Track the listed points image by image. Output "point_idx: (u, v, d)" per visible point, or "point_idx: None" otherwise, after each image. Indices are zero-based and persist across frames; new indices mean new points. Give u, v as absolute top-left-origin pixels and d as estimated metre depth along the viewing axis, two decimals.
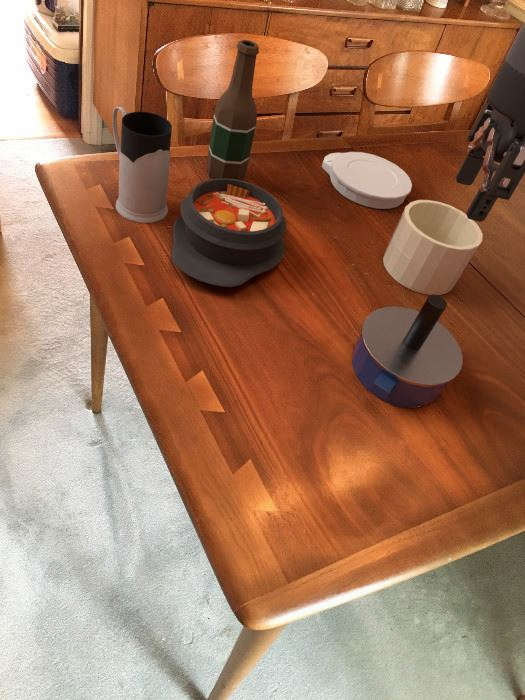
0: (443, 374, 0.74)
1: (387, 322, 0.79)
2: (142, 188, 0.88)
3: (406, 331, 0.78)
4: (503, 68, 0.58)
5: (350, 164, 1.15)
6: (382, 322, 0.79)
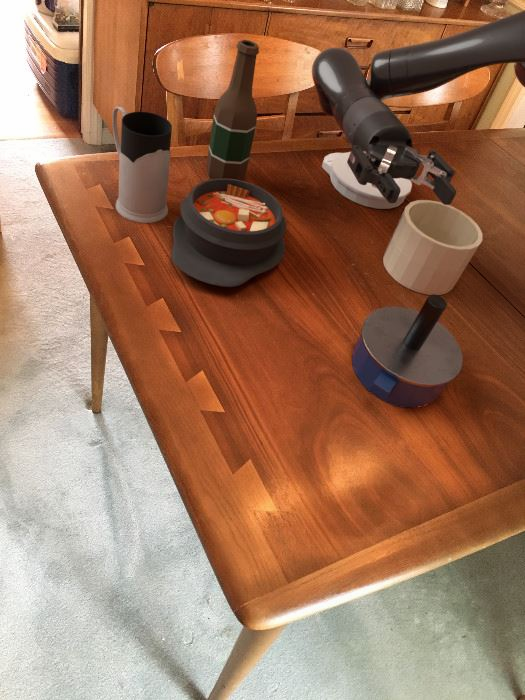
0: (443, 374, 0.74)
1: (387, 322, 0.79)
2: (142, 188, 0.88)
3: (406, 331, 0.78)
4: None
5: None
6: (382, 322, 0.79)
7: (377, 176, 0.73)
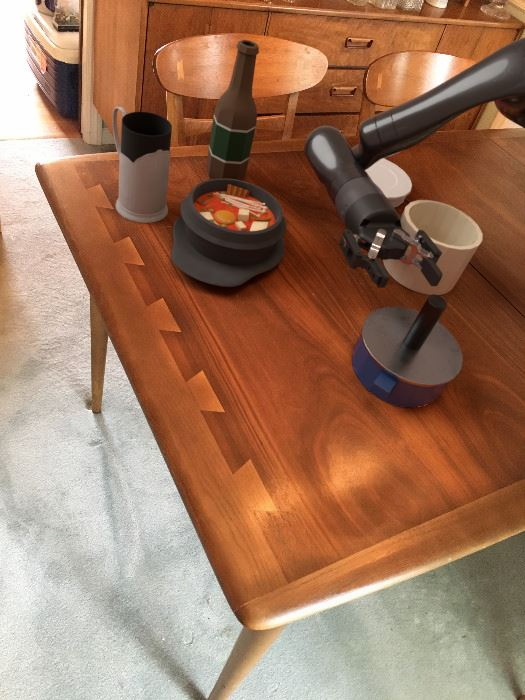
0: (443, 374, 0.74)
1: (387, 322, 0.79)
2: (142, 188, 0.88)
3: (406, 331, 0.78)
4: None
5: None
6: (382, 322, 0.79)
7: (367, 262, 0.77)
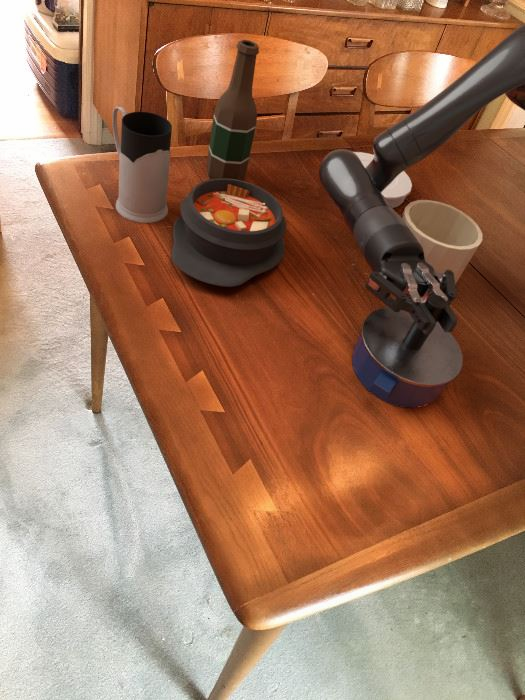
0: (443, 374, 0.74)
1: (387, 322, 0.79)
2: (142, 188, 0.88)
3: (406, 331, 0.78)
4: None
5: None
6: (382, 322, 0.79)
7: None
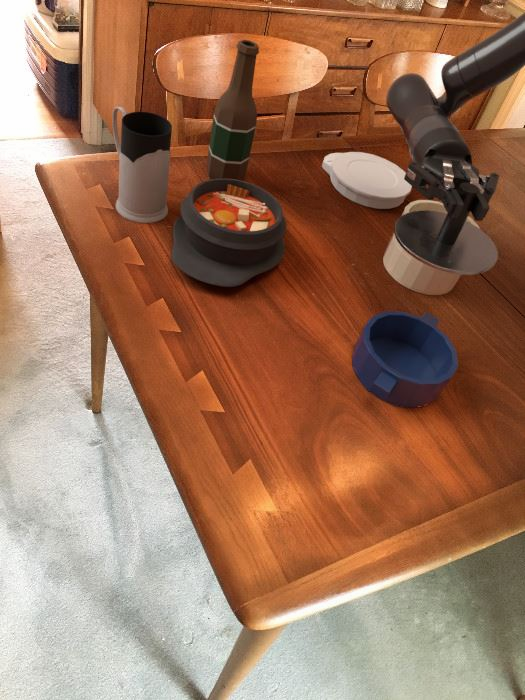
0: (470, 266, 0.74)
1: (425, 221, 0.80)
2: (142, 188, 0.88)
3: None
4: None
5: (350, 164, 1.15)
6: (419, 220, 0.80)
7: None
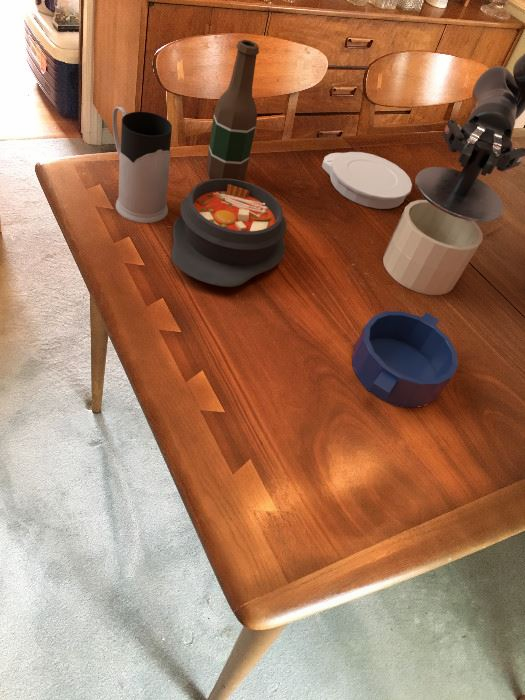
0: (465, 213, 0.84)
1: (452, 176, 0.92)
2: (142, 188, 0.88)
3: None
4: None
5: (350, 164, 1.15)
6: (447, 174, 0.92)
7: None
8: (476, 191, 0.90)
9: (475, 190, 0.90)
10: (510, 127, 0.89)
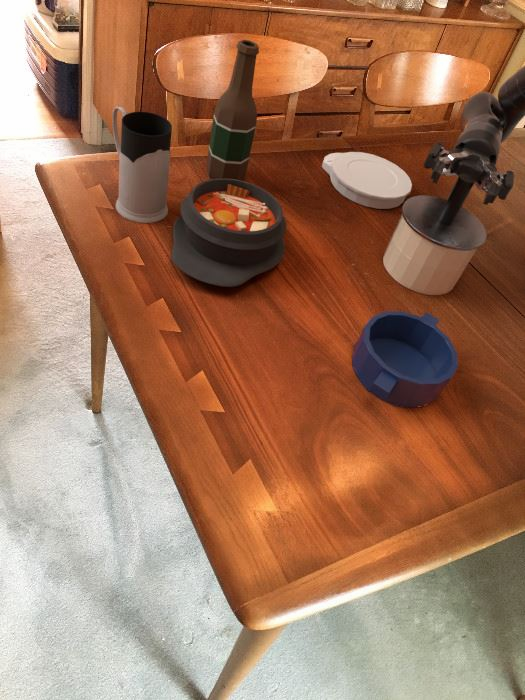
0: (449, 241, 0.88)
1: (437, 204, 0.96)
2: (142, 188, 0.88)
3: None
4: None
5: (350, 164, 1.15)
6: (432, 202, 0.96)
7: (435, 162, 0.90)
8: (460, 219, 0.94)
9: (459, 218, 0.94)
10: (495, 153, 0.93)
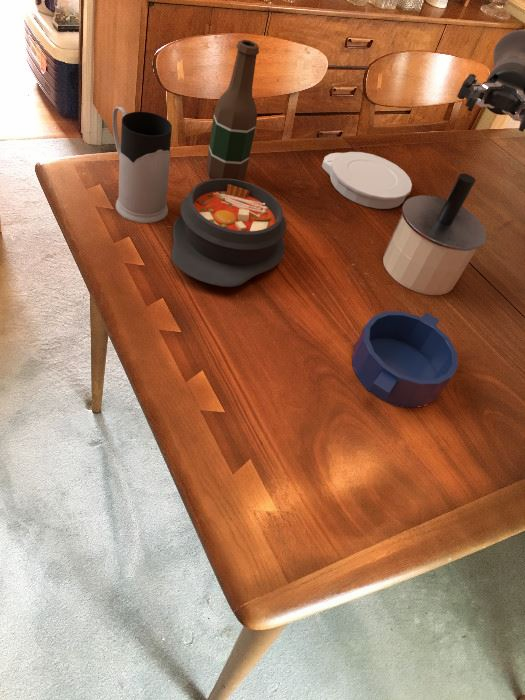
0: (449, 241, 0.88)
1: (437, 204, 0.96)
2: (142, 188, 0.88)
3: None
4: None
5: (350, 164, 1.15)
6: (432, 202, 0.96)
7: (470, 91, 0.90)
8: (460, 219, 0.94)
9: (459, 218, 0.94)
10: None
